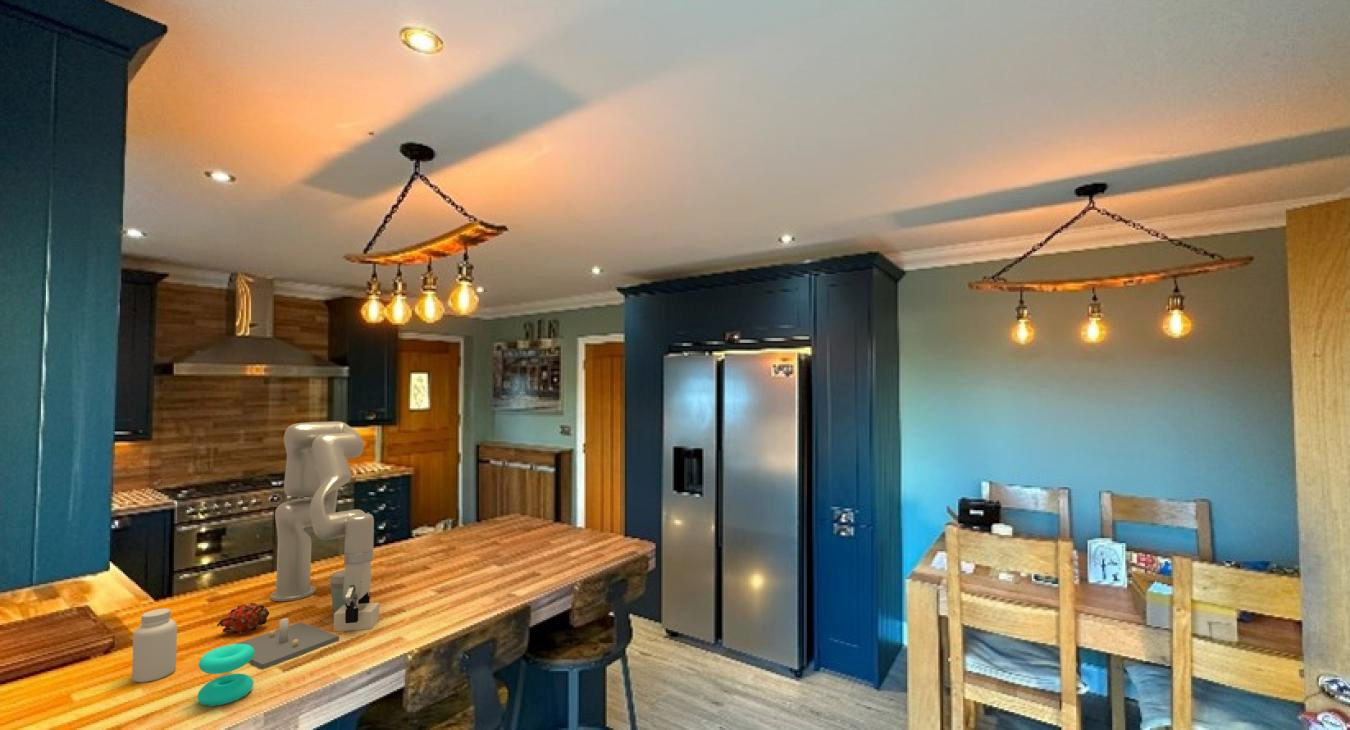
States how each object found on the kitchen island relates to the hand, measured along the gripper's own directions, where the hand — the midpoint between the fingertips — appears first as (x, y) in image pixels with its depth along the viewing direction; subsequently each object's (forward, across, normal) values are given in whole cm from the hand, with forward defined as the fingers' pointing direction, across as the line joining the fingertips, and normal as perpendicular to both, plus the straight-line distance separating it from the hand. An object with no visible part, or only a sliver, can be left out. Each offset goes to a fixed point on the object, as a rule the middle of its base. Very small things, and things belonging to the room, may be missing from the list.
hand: (357, 616), depth 170 cm
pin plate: (+3, +11, -15) cm, 19 cm away
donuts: (+3, +36, -16) cm, 40 cm away
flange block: (+3, 0, 0) cm, 3 cm away
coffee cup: (+3, -12, -8) cm, 14 cm away
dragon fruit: (+3, 0, -30) cm, 30 cm away
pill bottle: (+3, +23, -38) cm, 44 cm away
